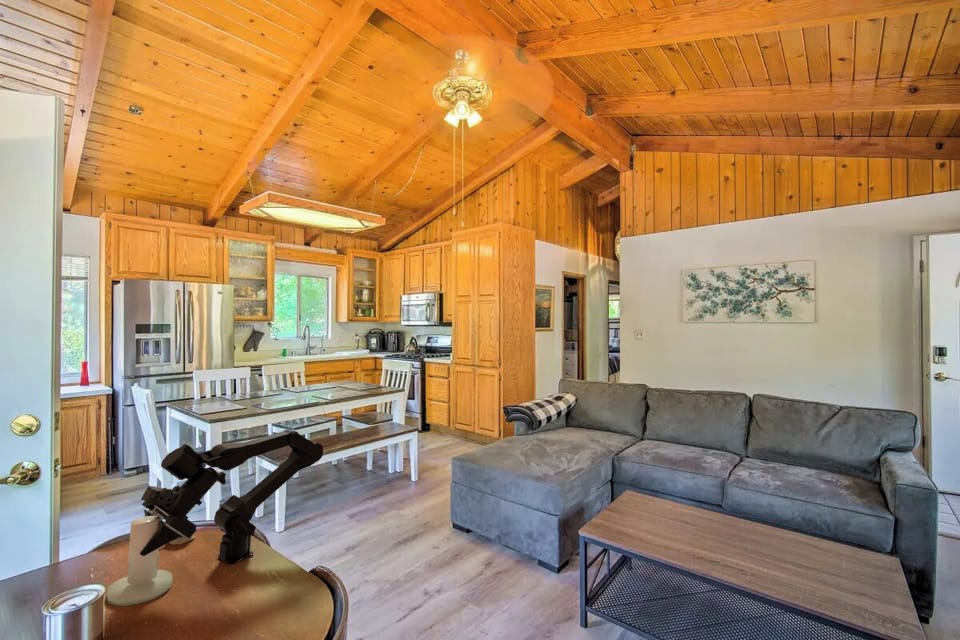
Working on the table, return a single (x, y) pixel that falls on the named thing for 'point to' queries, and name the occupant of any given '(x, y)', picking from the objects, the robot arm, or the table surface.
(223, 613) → the table surface
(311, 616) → the table surface
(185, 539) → the decorative ornament
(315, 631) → the table surface
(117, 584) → the sage dish
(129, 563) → the tall beige pillar
